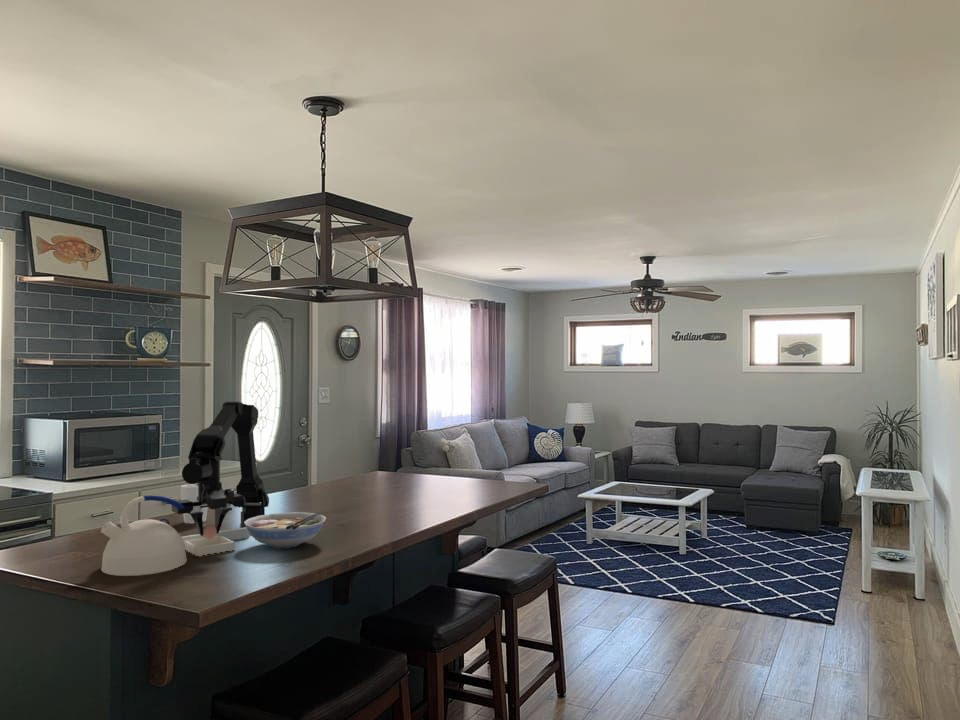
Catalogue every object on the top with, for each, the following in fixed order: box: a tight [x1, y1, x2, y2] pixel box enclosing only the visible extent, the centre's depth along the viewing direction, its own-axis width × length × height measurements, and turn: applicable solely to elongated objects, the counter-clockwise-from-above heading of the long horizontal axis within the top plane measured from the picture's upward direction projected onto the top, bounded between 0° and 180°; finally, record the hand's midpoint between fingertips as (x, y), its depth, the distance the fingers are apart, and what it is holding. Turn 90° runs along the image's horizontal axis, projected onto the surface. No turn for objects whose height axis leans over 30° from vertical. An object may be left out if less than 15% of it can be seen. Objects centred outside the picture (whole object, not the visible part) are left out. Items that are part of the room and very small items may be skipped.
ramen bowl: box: [244, 510, 327, 549], centre depth 215 cm, size 25×23×8 cm
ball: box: [203, 523, 217, 539], centre depth 210 cm, size 4×4×4 cm
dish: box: [184, 536, 236, 557], centre depth 210 cm, size 10×10×2 cm
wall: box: [181, 527, 250, 542], centre depth 219 cm, size 20×1×3 cm, turn 130°
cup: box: [179, 483, 209, 525], centre depth 249 cm, size 9×9×12 cm
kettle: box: [100, 495, 188, 577], centre depth 195 cm, size 20×21×18 cm
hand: (209, 534), depth 210 cm, fingers closed on ball, 4 cm apart
